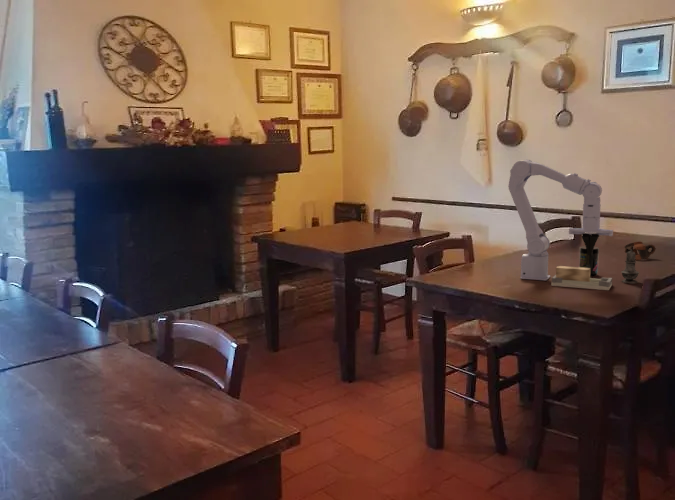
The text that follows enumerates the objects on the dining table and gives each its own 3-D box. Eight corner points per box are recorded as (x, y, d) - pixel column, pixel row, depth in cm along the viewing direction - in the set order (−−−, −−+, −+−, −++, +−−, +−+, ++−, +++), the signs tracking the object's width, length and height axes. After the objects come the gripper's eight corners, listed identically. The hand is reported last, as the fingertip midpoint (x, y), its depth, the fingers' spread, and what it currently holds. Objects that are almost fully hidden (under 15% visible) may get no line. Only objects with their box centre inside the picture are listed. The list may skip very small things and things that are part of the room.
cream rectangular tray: (551, 285, 238) (551, 278, 237) (556, 280, 245) (556, 273, 245) (608, 290, 229) (609, 282, 228) (612, 284, 236) (612, 277, 236)
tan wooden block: (555, 281, 239) (556, 267, 238) (557, 279, 242) (558, 265, 242) (588, 284, 234) (588, 269, 233) (589, 282, 237) (590, 268, 236)
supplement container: (592, 277, 249) (593, 249, 247) (575, 275, 254) (576, 247, 252) (601, 274, 253) (602, 247, 252) (584, 272, 258) (585, 245, 257)
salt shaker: (640, 283, 237) (642, 250, 235) (622, 283, 238) (624, 250, 236) (636, 280, 243) (638, 247, 241) (619, 279, 244) (620, 247, 242)
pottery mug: (629, 262, 279) (623, 243, 282) (627, 267, 288) (621, 250, 291) (659, 254, 276) (653, 236, 279) (656, 261, 285) (650, 243, 288)
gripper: (614, 216, 238) (612, 254, 240) (571, 215, 244) (570, 251, 247) (612, 218, 231) (610, 257, 234) (568, 217, 238) (567, 255, 241)
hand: (589, 255), depth 240 cm, fingers closed
